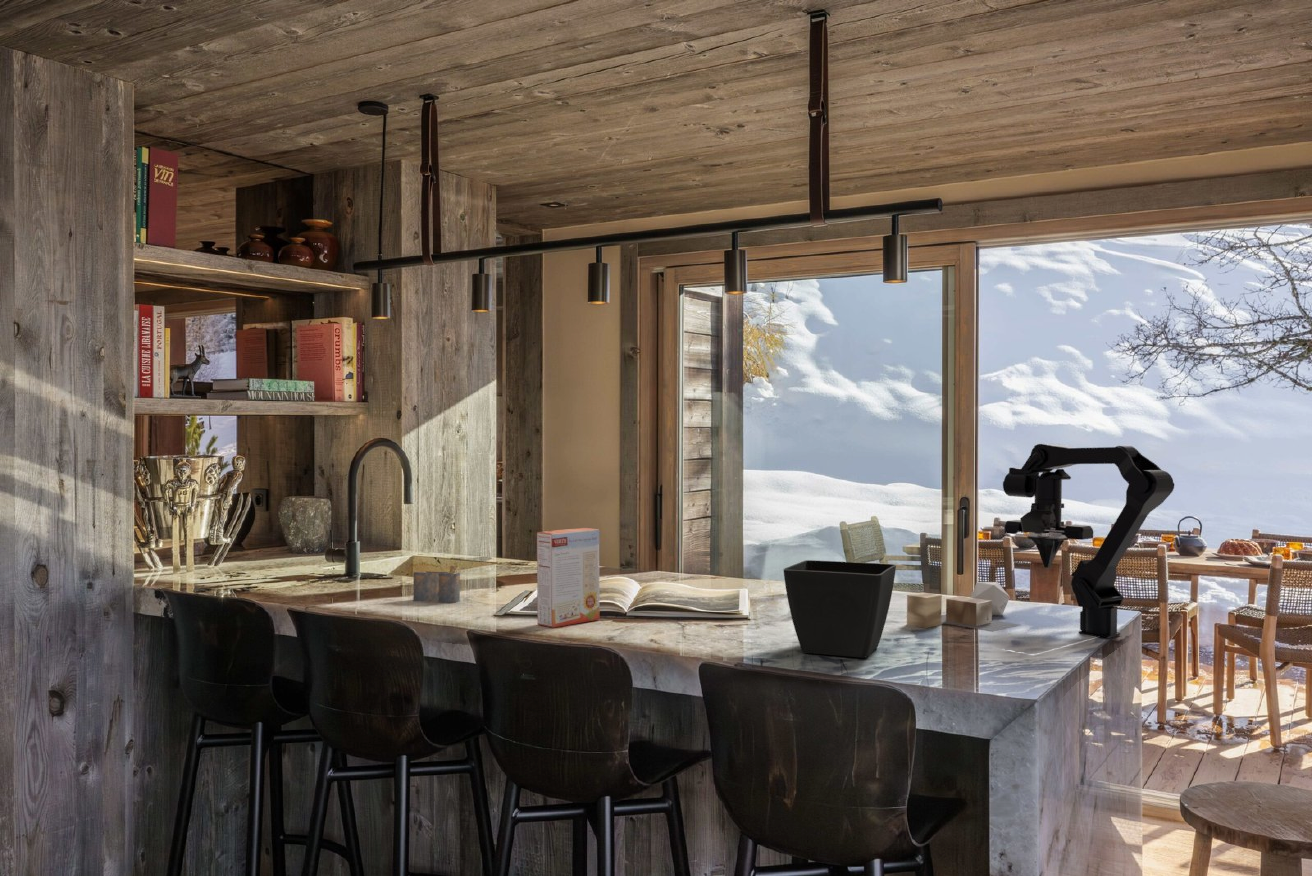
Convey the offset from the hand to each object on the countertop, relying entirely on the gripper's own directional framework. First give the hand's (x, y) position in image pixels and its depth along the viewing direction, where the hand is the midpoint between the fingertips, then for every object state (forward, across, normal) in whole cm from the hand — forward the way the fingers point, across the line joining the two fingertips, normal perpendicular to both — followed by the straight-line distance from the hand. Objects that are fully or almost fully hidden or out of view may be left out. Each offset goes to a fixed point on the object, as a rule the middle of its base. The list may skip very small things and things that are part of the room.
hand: (1047, 567), depth 228 cm
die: (+13, -15, +1) cm, 20 cm away
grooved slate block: (+14, -114, -92) cm, 147 cm away
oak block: (+13, -17, -23) cm, 31 cm away
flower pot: (+13, -13, -58) cm, 61 cm away
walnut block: (+10, -8, -12) cm, 18 cm away
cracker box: (+13, -70, -83) cm, 109 cm away
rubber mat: (+13, -12, -12) cm, 21 cm away
